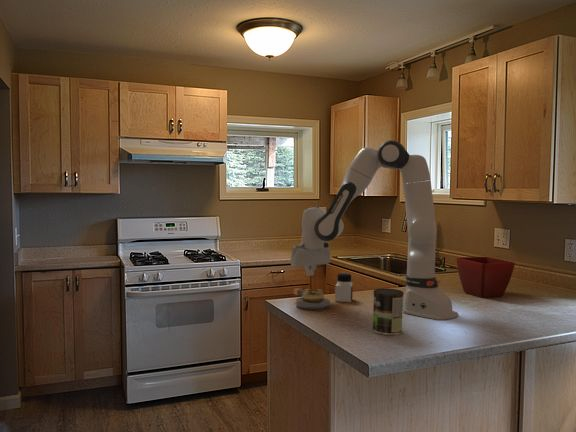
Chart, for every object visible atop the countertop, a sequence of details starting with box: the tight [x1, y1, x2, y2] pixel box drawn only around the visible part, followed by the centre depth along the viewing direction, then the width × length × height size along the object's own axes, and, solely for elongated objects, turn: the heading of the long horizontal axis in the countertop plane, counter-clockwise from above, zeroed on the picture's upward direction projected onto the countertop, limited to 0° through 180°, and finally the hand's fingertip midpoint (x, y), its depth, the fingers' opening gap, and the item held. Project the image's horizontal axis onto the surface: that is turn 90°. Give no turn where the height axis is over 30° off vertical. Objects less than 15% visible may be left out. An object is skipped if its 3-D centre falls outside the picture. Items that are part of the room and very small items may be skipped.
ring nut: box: [293, 287, 325, 302], centre depth 211 cm, size 16×9×4 cm, turn 38°
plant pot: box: [456, 256, 516, 299], centre depth 238 cm, size 19×19×17 cm
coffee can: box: [372, 288, 404, 336], centre depth 174 cm, size 10×10×14 cm
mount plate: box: [295, 296, 331, 311], centre depth 208 cm, size 14×14×3 cm
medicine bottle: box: [334, 272, 354, 303], centre depth 220 cm, size 7×7×12 cm
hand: (309, 275), depth 217 cm, fingers closed
